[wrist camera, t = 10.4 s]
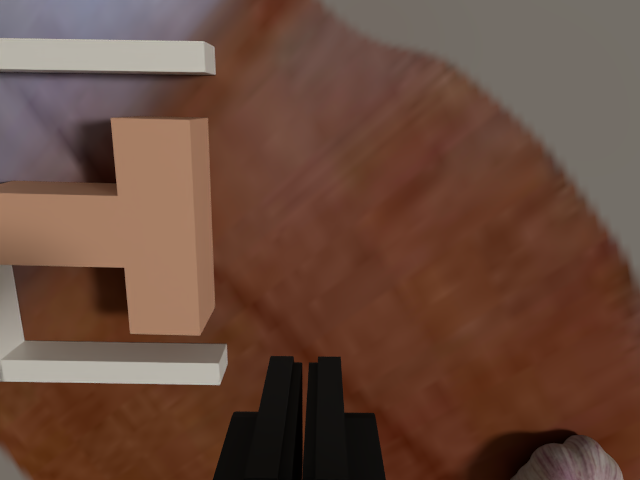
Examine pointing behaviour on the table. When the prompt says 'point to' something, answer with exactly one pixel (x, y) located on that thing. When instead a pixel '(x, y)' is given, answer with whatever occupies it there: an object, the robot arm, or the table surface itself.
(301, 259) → the table surface
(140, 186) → the t block
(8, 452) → the table surface
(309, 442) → the robot arm
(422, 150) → the table surface
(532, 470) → the garlic bulb
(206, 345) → the frame
